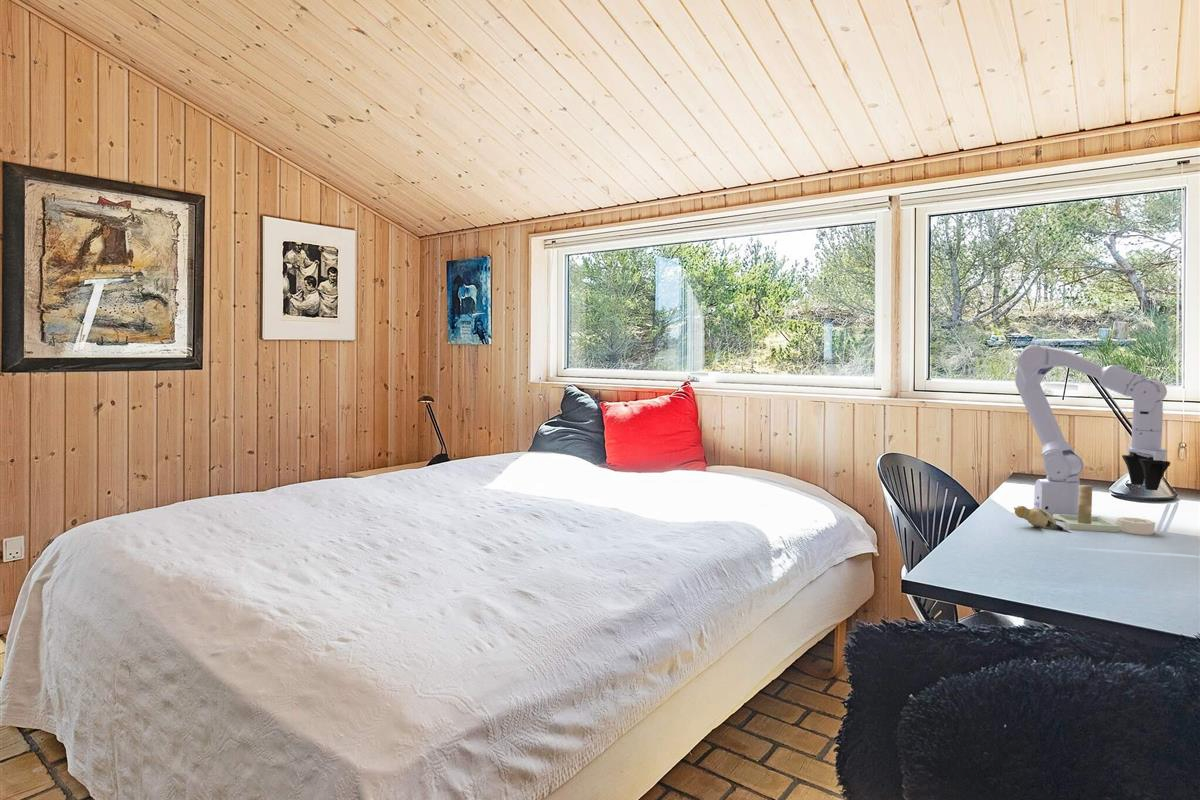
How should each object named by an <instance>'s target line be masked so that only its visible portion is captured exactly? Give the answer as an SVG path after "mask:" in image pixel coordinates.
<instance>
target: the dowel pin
mask: <svg viewBox="0 0 1200 800" xmlns="http://www.w3.org/2000/svg"><path fill="white" fill-rule="evenodd" d="M1092 505H1093V486H1092V485H1086V484H1079V504H1078V523H1083V524H1091V516H1092V511H1093V506H1092Z"/></svg>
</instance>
